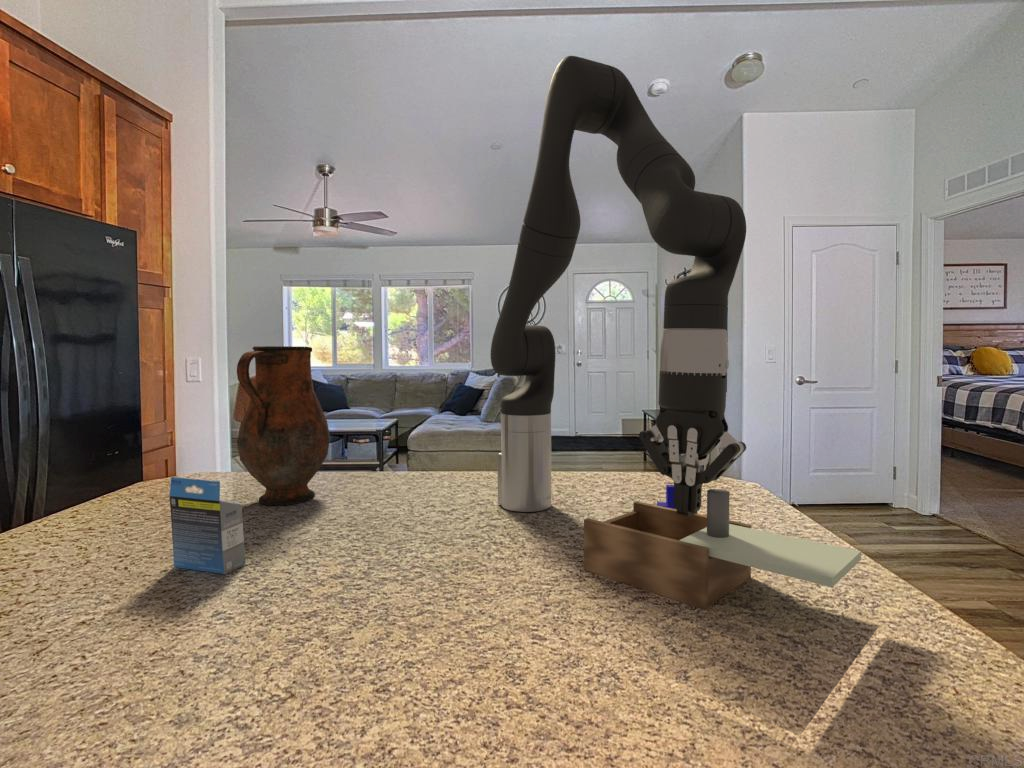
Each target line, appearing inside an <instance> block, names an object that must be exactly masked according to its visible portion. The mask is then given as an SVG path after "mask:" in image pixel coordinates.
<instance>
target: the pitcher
mask: <svg viewBox="0 0 1024 768" xmlns="http://www.w3.org/2000/svg"><path fill="white" fill-rule="evenodd" d="M312 352H313V348H312V347H311V346H287V345H286V346H283V345H282V346H281V345H280V346H273V345H271V346H270V345H269V346H263V345H262V346H258V345H257V346H255V345H254V346H252V351H246V352H244V353H242V355H241V356H240V358H239V359H238V362H237V364H236V375H237V381H238V382H239V385H240V386H241V387H242V389H243V390H244V391H245V393H246V394H247V395H248V396H249V398H250V401H249V404H248V407H247V409H246V412H245V414H244V415H243V418H242V421H241V424H240V425H239V426H240V427H239V431H238V436H237V440H236V444H237V451H238V457H239V460H240V462H241V464H242V465H243V466H244V468H245V469H246V471H247V472H248V473H249V474H250V476H251V477H253V478H254V479H255V481H257V482H258V483H259V484H260V485H262V487H264V488H265V492H264V494H262V495H261V496H260V497H259V498H258V503H260V504H261V505H263V504H265V505H264V506H268V505H280V506H288V505H287V504H290V505H294V504H293V503H296V504H299V502H300V503H303V501H304V502H306V500H307V501H309V500H311V499H313V498H314V497H315V496H316V493H315V491H314V490H313V489H310V488H309V487H308V484H309V482H310V481H311V480H312V479H313V478H314V476H315V475H316V474H317V473H318V471H319V470H320V469H321V467H322V465H323V464H324V462H325V460H326V458H327V457H328V453H329V448H330V441H331V434H330V428H329V424H328V420H327V418H326V416H325V413H324V411H323V409H322V406H321V404H320V403H321V402H320V401H319V399H318V396H317V394H316V392H315V390H314V384H313V376H312V363H311V358H312V357H311V356H312ZM253 359H254V361H255V362H254V363H255V364H254V365H255V377H254V384H253V383H252V380H251V377H250V366H251V365H250V364H251V362H252V361H253Z"/></svg>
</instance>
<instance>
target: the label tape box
mask: <svg viewBox="0 0 1024 768" xmlns="http://www.w3.org/2000/svg"><path fill="white" fill-rule="evenodd" d="M193 487H195V488H196V489H200V490H202V491H201V493H200V492H191V491H187V490H186V489H187V488H189V489H190V488H191V489H192V488H193ZM169 504H170V505H169V506H170V518H171V519H170V520H171V536H172V540H171V541H172V555H173V567H174V568H176V569H182V568H185V569H184V570H189V569H191V571H199V572H207V573H213V574H219V573H221V574H220V575H227V574H228V572H229V573H231V572H233V571H232V570H234V569H236V568H238V567H239V568H241V567H243V566H245V565H246V553H245V537H244V525H243V523H244V522H243V510H242V509H243V506H242V504H241V503H235V502H231V501H230V502H229V501H225V500H222V499H221V481H219V480H208V479H207V480H206V479H195V478H188V477H177V476H172V475H171V477H170V485H169ZM239 568H238V569H239ZM236 570H237V569H236ZM234 571H235V570H234ZM226 573H227V574H226Z"/></svg>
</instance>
